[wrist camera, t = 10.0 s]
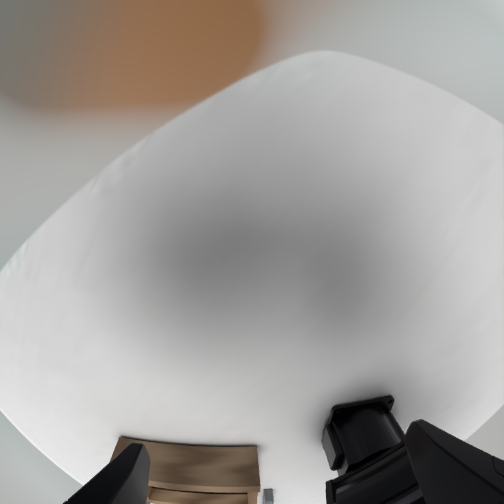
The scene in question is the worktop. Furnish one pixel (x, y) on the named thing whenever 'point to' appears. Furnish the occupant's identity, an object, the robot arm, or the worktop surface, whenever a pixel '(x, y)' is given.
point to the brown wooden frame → (199, 473)
